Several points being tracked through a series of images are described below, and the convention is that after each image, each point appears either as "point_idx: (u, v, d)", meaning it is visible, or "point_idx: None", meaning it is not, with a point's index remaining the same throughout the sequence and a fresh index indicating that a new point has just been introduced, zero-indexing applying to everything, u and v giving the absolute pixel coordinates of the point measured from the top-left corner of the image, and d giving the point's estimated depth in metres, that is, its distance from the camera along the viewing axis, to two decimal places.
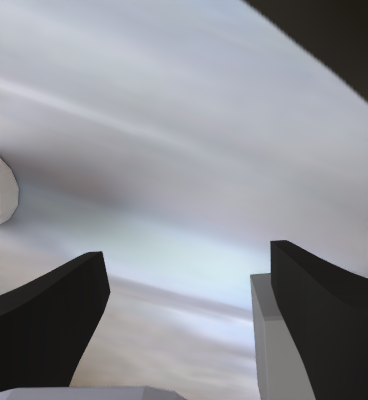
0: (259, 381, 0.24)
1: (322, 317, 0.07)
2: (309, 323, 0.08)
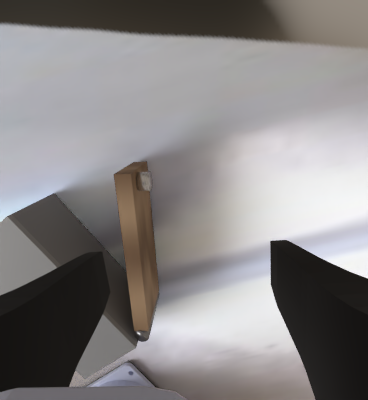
0: None
1: (322, 317, 0.07)
2: (309, 323, 0.08)
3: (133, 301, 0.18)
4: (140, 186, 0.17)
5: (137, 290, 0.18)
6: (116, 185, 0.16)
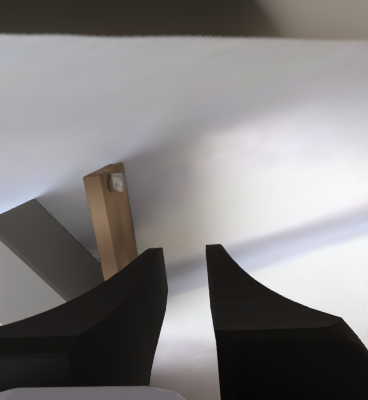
0: None
1: None
2: None
3: None
4: (112, 188, 0.17)
5: None
6: (86, 188, 0.16)
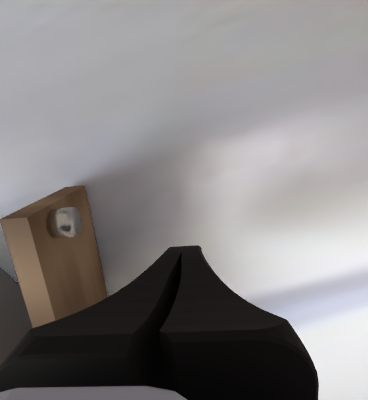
0: None
1: None
2: None
3: None
4: (55, 232, 0.10)
5: None
6: (7, 236, 0.10)
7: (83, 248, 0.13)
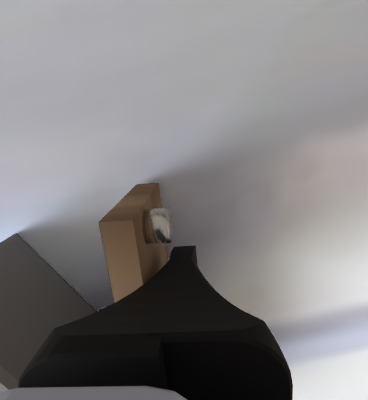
0: None
1: None
2: None
3: None
4: (151, 237, 0.09)
5: None
6: (105, 243, 0.08)
7: (160, 254, 0.12)
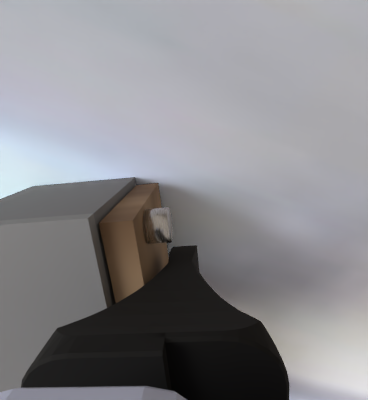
0: None
1: None
2: None
3: None
4: (152, 237, 0.09)
5: None
6: (105, 243, 0.08)
7: (161, 254, 0.12)
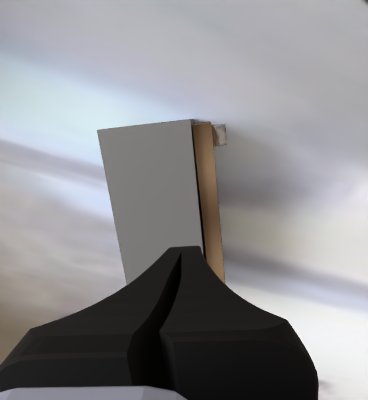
0: None
1: None
2: None
3: None
4: (216, 140, 0.15)
5: (215, 254, 0.17)
6: (195, 137, 0.15)
7: None
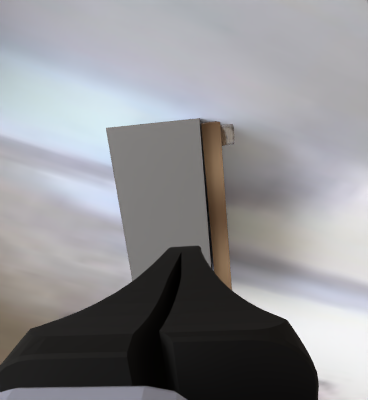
0: None
1: None
2: None
3: (217, 266, 0.17)
4: (224, 139, 0.16)
5: (222, 253, 0.17)
6: (203, 136, 0.15)
7: None
